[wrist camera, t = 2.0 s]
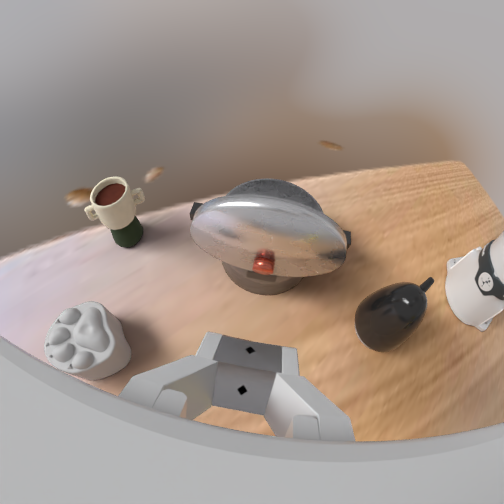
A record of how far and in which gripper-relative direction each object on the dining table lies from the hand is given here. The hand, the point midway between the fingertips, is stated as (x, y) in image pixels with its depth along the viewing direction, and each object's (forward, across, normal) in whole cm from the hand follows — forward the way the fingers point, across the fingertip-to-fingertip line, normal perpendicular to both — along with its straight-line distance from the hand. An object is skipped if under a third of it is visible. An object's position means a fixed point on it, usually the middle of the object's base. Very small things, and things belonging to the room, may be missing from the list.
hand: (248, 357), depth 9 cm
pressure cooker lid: (+22, 0, 0) cm, 22 cm away
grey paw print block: (+26, +25, +25) cm, 44 cm away
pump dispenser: (+36, -21, +15) cm, 44 cm away
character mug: (+42, +27, +8) cm, 51 cm away
